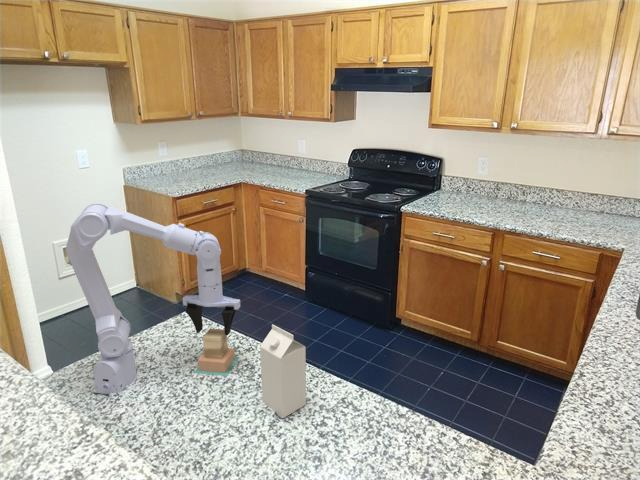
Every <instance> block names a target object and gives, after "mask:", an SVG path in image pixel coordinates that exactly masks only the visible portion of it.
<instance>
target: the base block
mask: <svg viewBox="0 0 640 480" xmlns="http://www.w3.org/2000/svg"><path fill="white" fill-rule="evenodd" d="M235 357H236V356H235V348H230V347H228V351H227V353H226V354H225V355H224V357H223V358H222V359H211V358H205V354H204V352H203V353H202V354H201V356H200V357H199V358H198V359H197V365H198V366H199V371H206V372H216V373H226V371H227V370H228V368H229V367H230V365H231V364H232V362H233V361H234V359H235ZM198 366H197V367H198Z"/></svg>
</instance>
